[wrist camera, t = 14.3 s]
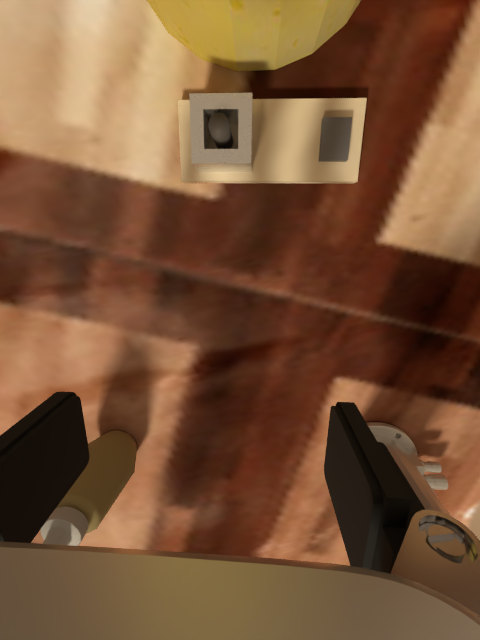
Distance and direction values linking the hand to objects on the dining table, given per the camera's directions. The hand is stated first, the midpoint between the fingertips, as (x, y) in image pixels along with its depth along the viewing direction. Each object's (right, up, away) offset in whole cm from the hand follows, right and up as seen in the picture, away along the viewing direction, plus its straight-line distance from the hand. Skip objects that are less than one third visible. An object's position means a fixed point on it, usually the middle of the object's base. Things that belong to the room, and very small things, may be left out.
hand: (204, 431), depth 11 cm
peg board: (+5, +24, +22) cm, 33 cm away
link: (0, +24, +21) cm, 32 cm away
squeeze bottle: (-18, -16, +35) cm, 42 cm away
